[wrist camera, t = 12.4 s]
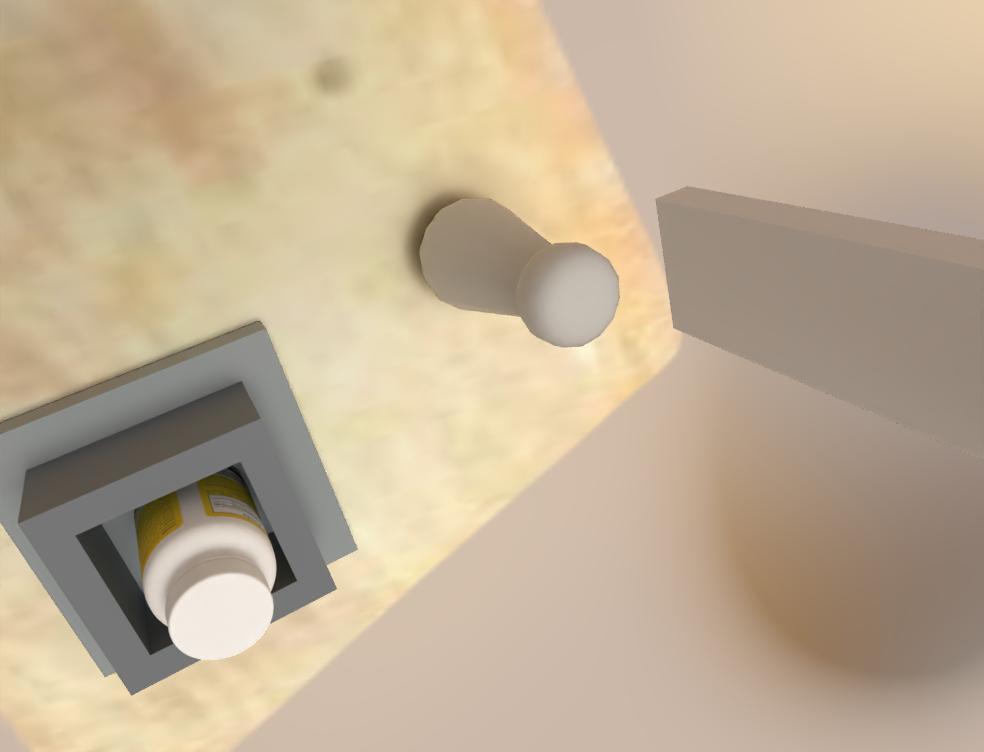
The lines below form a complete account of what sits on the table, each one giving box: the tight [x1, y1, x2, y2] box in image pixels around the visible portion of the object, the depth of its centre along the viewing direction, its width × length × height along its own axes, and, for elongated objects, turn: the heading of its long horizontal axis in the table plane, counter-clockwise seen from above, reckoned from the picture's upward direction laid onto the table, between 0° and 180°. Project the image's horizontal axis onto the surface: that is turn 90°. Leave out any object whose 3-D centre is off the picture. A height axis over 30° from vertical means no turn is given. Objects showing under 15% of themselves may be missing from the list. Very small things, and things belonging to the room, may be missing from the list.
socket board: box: [0, 321, 358, 695], centre depth 37 cm, size 14×14×6 cm
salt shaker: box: [419, 198, 620, 347], centre depth 37 cm, size 6×6×13 cm
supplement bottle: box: [134, 466, 276, 660], centre depth 35 cm, size 5×5×10 cm
